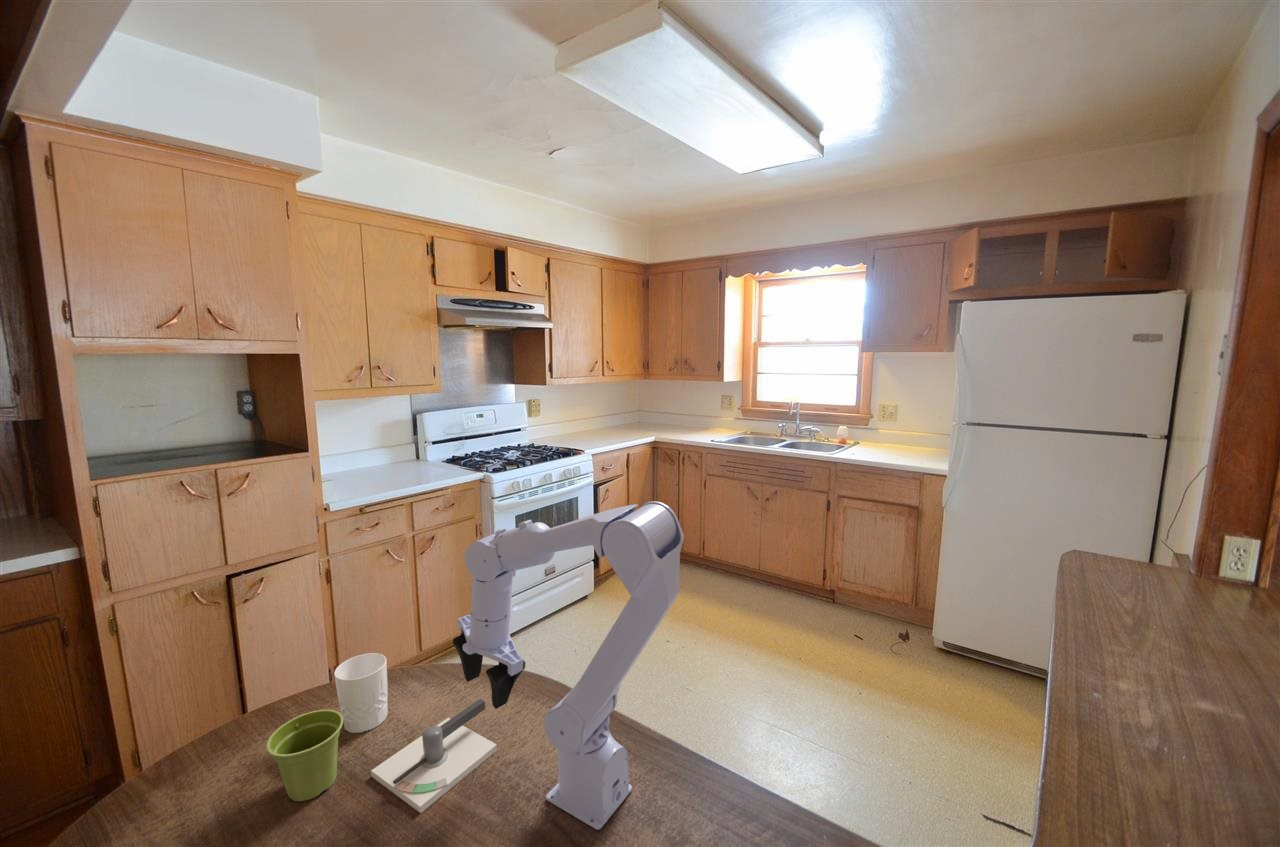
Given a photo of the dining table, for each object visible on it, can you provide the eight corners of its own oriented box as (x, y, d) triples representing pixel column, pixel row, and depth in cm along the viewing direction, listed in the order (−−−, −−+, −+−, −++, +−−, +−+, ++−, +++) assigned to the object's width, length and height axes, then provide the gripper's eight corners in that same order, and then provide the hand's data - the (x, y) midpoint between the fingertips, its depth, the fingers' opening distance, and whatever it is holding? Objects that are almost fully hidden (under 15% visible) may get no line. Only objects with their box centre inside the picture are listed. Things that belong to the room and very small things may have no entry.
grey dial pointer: (400, 790, 74) (397, 764, 73) (388, 781, 76) (386, 756, 75) (489, 722, 87) (487, 700, 87) (478, 716, 89) (476, 695, 88)
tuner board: (497, 750, 83) (497, 743, 83) (421, 814, 72) (420, 806, 71) (448, 722, 89) (448, 716, 89) (371, 776, 78) (370, 769, 78)
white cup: (329, 727, 89) (323, 672, 88) (372, 700, 96) (367, 648, 95) (359, 742, 85) (353, 685, 84) (401, 712, 92) (396, 659, 91)
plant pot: (261, 820, 71) (254, 762, 70) (287, 768, 80) (281, 716, 79) (338, 803, 74) (332, 746, 73) (355, 754, 83) (350, 703, 82)
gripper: (440, 599, 80) (437, 677, 83) (495, 645, 71) (489, 731, 74) (481, 585, 85) (477, 659, 88) (537, 625, 76) (530, 707, 79)
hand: (485, 690), depth 81 cm, fingers open, 7 cm apart
